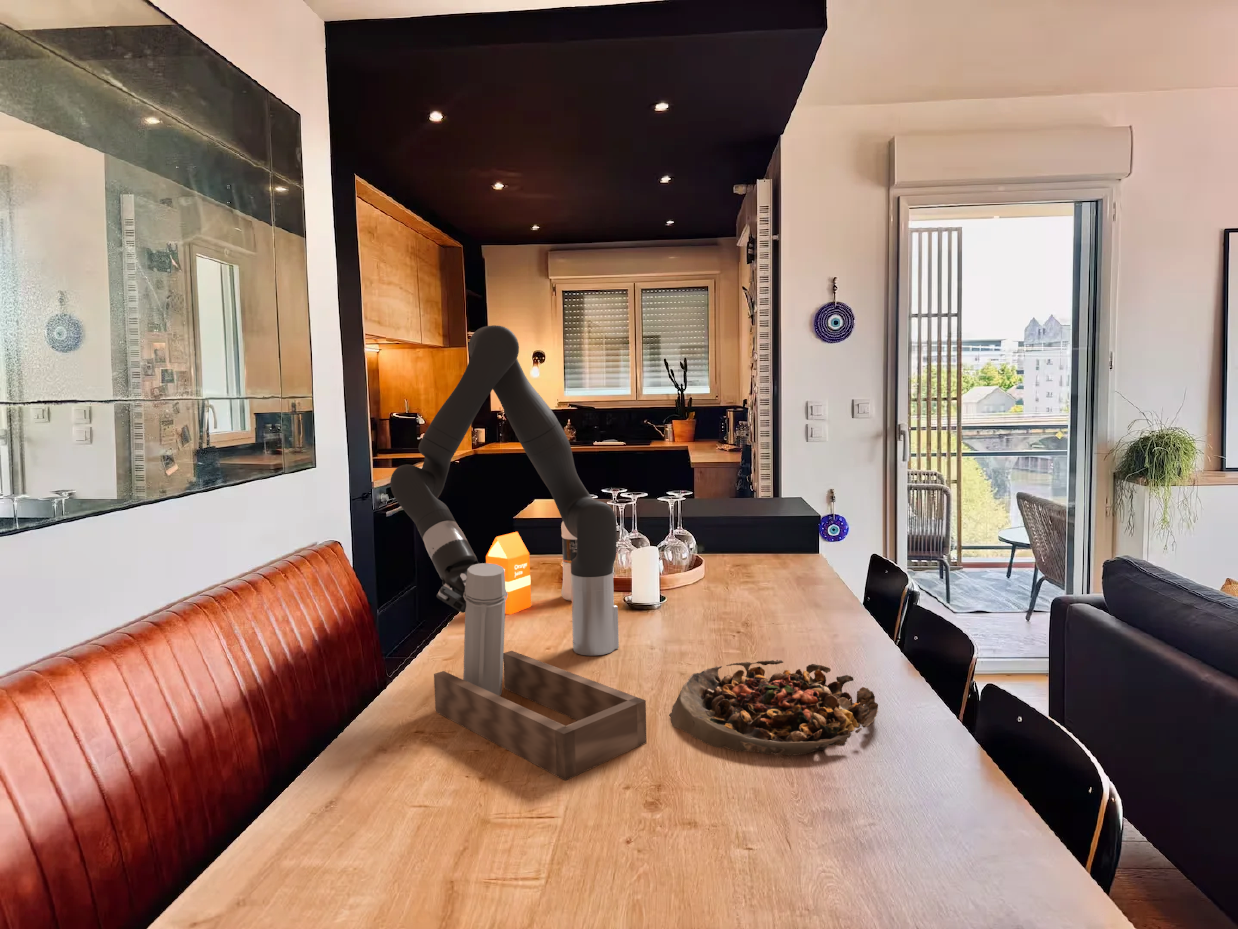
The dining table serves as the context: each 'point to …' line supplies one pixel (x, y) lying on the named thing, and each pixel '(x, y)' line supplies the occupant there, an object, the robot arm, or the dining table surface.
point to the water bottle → (484, 626)
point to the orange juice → (513, 570)
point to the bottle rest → (561, 750)
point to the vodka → (567, 560)
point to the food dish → (771, 710)
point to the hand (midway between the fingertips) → (488, 626)
